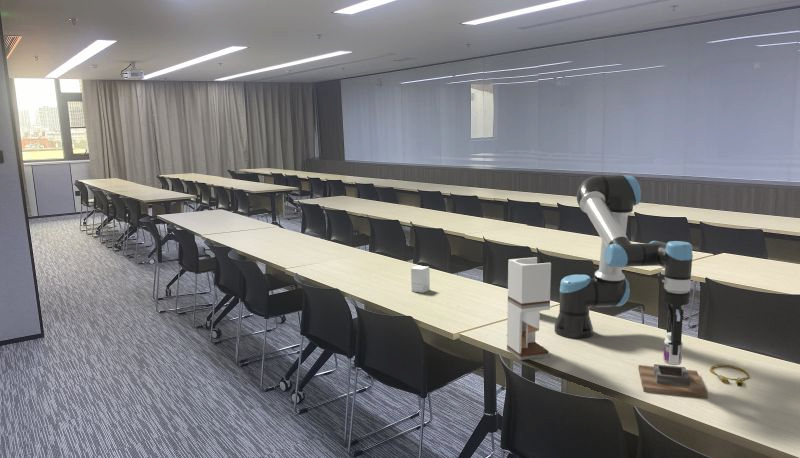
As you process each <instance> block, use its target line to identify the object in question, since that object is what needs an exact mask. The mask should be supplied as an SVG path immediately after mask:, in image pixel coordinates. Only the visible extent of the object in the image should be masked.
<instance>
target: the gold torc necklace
mask: <svg viewBox="0 0 800 458" xmlns="http://www.w3.org/2000/svg"><path fill="white" fill-rule="evenodd" d="M715 368H717V369H718V368H732V369H735V370H739V371H740V372H743V373H744V374H745V375H746V376H747V377H742V378H741V377H737V378H730V377H725V376H724V375H722V374H718V373H717V372H715V371H714V370H713V369H715ZM709 372H710V373H711V374H713V375H715V376H717V378H718V379H719V381H720V382H722V383H723V384H729V383H730V380H732V381H735V382H736V385H737V386H738V387H739V386H740V387H743V384H744V383H743V382H745V381H746V380H748V379H749V378H750V375H749V373H748V372H747V371H746V370H744V369H743V368H740V367H738V366H736V365H731V364H723V365H722V364H715V365H713V366H711V367H710V369H709Z"/></svg>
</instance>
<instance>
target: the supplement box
mask: <svg viewBox="0 0 800 458" xmlns="http://www.w3.org/2000/svg"><path fill="white" fill-rule="evenodd" d="M410 275H411V278H410V279H411V284H410V286H411V292H416V293H421V294H422V293H423V294H424V293H426V292H428V291H430V289H431V288H430V287H431V286H430V285H431V284H430V282H431V281H430V266H423V265H415V266H413V267H411V268H410Z"/></svg>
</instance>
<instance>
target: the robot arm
mask: <svg viewBox="0 0 800 458" xmlns="http://www.w3.org/2000/svg"><path fill="white" fill-rule="evenodd" d="M641 199H642V191H641V187H640V184H639V181H638V180H637V178H636V177H634V176H633V175H626V174H625V175H624V174H619V175H617V174H615V175H594V176H590V177H588V178H586V179H585V180H583V182H581V184H580V185H579V187H578V189H577V191H576V202H577V204H578V205H577V206H578V207H579V209H580V210H581V211H582V212H584V213H585V214H586V215H587V216H588V218H589V220H590V222H591V224H592V225H593V226H594V228H595V230H596V231H597V234H598V235H599V237H600V238H601V244H600V245H601V247H600V254H599V256H600V258H599V265H598V269H597V270H596V271H594V277H593V278H591V277H590V275H587V274H570V275H566V276H564V277H563V278H562V279H561V280H560V286H559V313H558V316H557V318H556V321H555V322H554V323H555V324H554V333H555V334H557V335H558V336H562V337H566V338H571V339H585V338H589V337H591V336H593V335H594V327H593V324H592V320H591V317H590V308H610V307H611V308H615V307H622V306H623V305H625V304H626V303H627V301H628V300H629V297H630V293H631V291H630V290H631V289H630V283H629V281H628V279H627V278H626V275H625V274H624V273H623V272H622V270H623V268H628V267H633V268H634V267H657V266H658V267H662V268H664V279H662V280H661V282H662V283H663V288H664V290H663V295H662V301H663V302H664V303H665V304H667V320H666V321H667V322H666V323H667V325H666V334H667V333H668V332H671V343H668V344H669V345H670V353H669V364H676V365H675V366H679V350H680V345H681V341H682V333H683V320H684V309H683V308H682V306H687V305H688V304H690V291H691V285H692V284H691V282H692V281H691V280H692V267H693V258H694V256H693V255H694V254H693V245H692V244H691V243H690V242H687V241H681V240H673V241H668V242H664V241H657V240H652V241H650V242H648V243H632V242H631V241H630V239H629V238H628V236H627V225H628V219H629V218H628V217H629V215H630V214H631V213H632V212H633V211H634V207H635V206H637V205H639V204H640V202H641ZM669 364H668V365H669Z"/></svg>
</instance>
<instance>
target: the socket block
mask: <svg viewBox="0 0 800 458" xmlns="http://www.w3.org/2000/svg"><path fill="white" fill-rule="evenodd" d="M638 373H639V378H640V382H641V383H640V384H641V386H642V390H643V392H647V393H653V394H654V393H655V394H663V395H673V396H682V397H683V396H684V397H691V398H701V399H708V392H707V390H706V387H705V386H704V383H703V381H702V379H701V377H700V375H699V372H698V371H697V370H694V369H693V370H691V369H686V367H684V366H679V365H668V364H664V365H663V364H655V363H654V364H653V366H651V365H641V364H638Z"/></svg>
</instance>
